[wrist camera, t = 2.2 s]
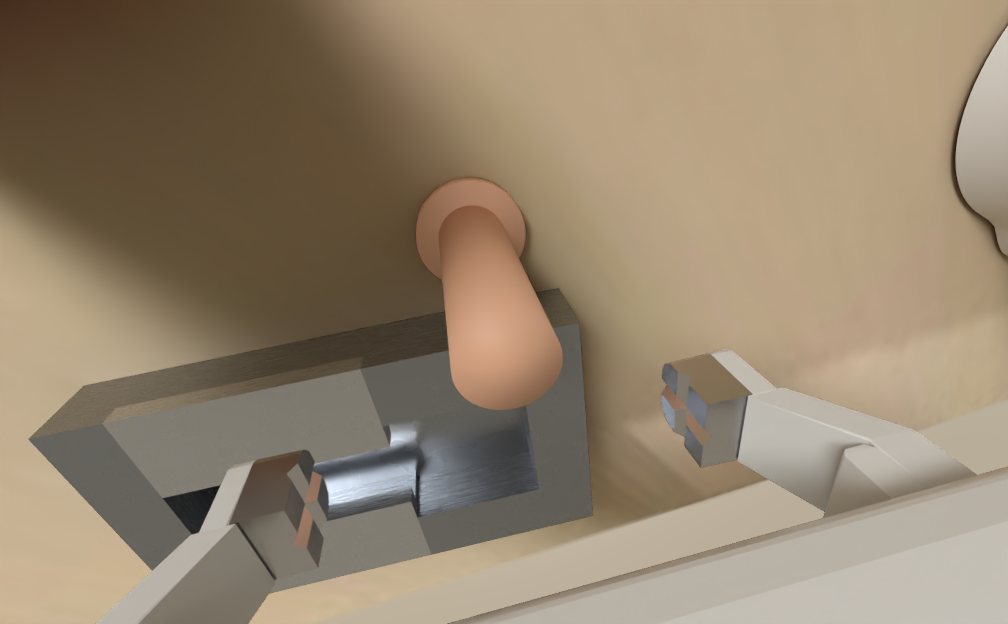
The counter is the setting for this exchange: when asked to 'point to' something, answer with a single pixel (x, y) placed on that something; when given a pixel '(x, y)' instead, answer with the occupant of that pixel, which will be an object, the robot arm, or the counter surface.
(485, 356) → the peg
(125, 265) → the counter surface
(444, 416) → the keyhole board
